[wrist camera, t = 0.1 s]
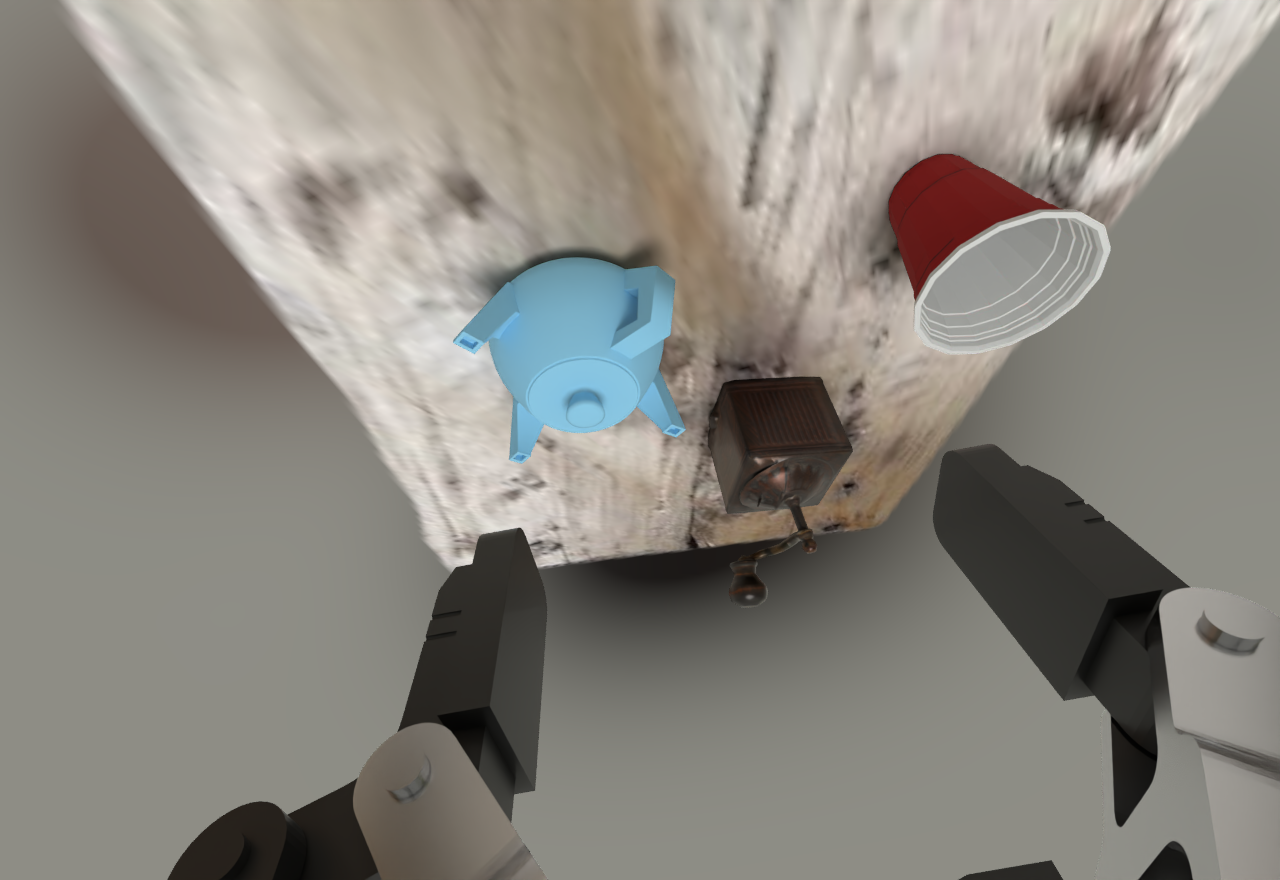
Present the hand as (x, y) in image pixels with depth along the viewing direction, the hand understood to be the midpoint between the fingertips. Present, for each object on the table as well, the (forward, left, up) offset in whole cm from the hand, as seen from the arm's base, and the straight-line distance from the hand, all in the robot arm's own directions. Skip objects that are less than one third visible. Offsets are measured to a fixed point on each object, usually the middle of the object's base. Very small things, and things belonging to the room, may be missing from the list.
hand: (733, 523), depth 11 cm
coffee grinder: (+38, -18, -32) cm, 52 cm away
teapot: (+13, -18, -32) cm, 38 cm away
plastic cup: (+26, +7, -32) cm, 41 cm away
